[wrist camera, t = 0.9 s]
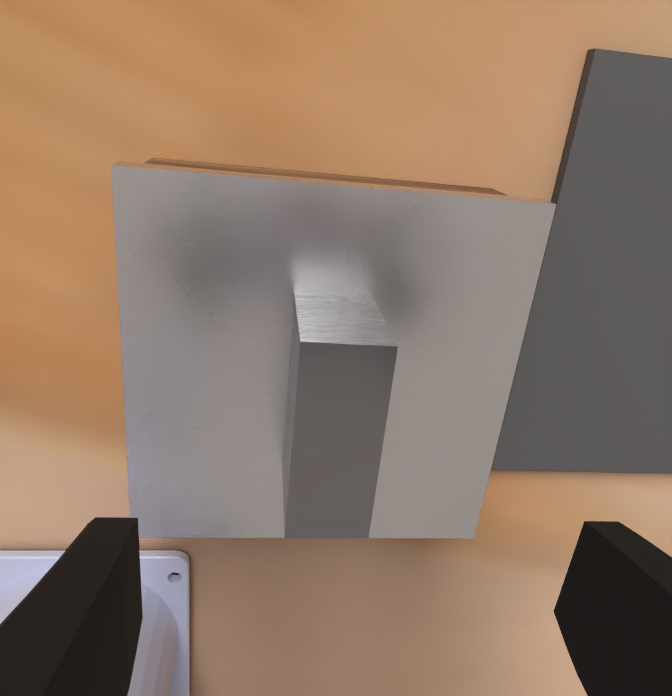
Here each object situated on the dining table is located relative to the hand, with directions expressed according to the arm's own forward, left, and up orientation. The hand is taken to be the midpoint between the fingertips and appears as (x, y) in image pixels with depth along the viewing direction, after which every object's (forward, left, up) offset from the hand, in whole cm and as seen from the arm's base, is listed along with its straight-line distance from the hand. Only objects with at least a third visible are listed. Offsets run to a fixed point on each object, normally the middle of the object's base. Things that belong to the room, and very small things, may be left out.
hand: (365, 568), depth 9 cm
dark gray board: (+2, -14, -10) cm, 17 cm away
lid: (0, 0, -8) cm, 8 cm away
